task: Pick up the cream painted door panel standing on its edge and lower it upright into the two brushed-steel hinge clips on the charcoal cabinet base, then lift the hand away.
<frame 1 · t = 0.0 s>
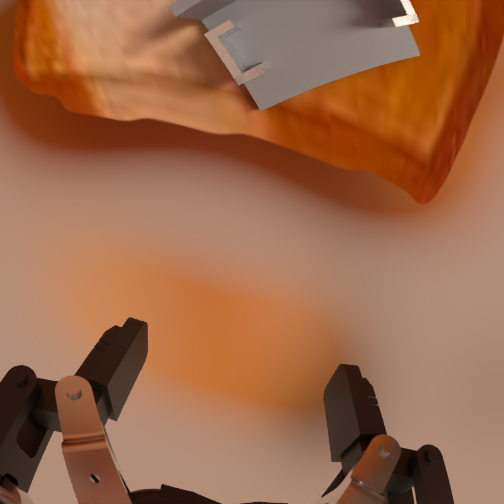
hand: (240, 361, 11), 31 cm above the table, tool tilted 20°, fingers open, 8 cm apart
hinge bracket: (310, 21, 24), on the table
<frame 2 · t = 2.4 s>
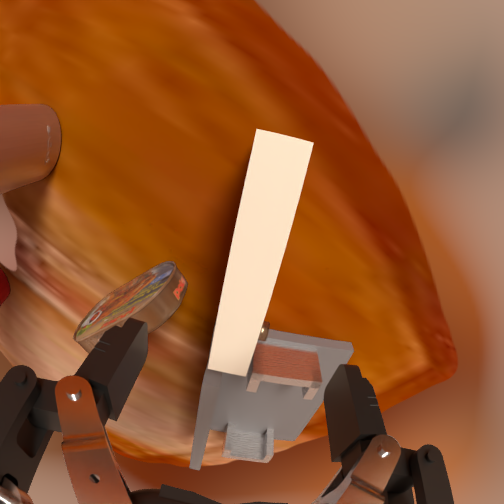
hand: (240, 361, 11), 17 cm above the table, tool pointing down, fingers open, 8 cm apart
door: (256, 227, 26), on the table
hinge bracket: (263, 391, 35), on the table
plastic cup: (0, 278, 31), on the table
tin: (141, 289, 30), on the table
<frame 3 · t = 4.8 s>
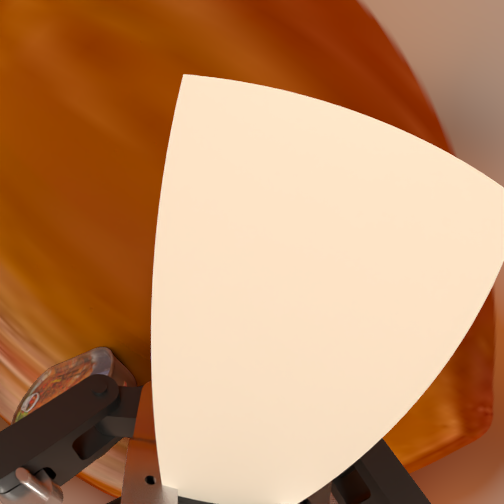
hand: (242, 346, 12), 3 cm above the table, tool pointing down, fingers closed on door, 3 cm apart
door: (248, 310, 14), on the table, touching gripper
tin: (85, 370, 18), on the table
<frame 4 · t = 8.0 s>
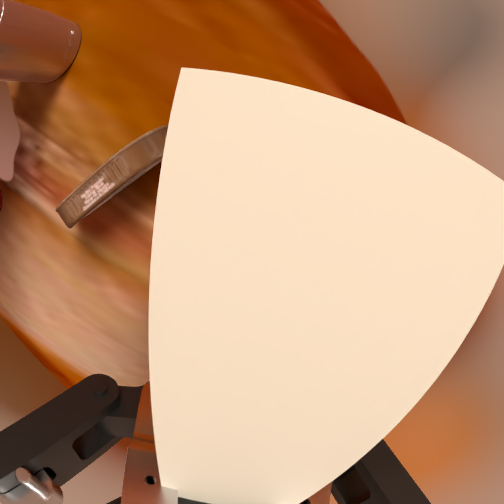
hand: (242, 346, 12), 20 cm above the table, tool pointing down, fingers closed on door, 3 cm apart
door: (248, 310, 14), point 17 cm above the table, touching gripper
tin: (132, 172, 29), on the table
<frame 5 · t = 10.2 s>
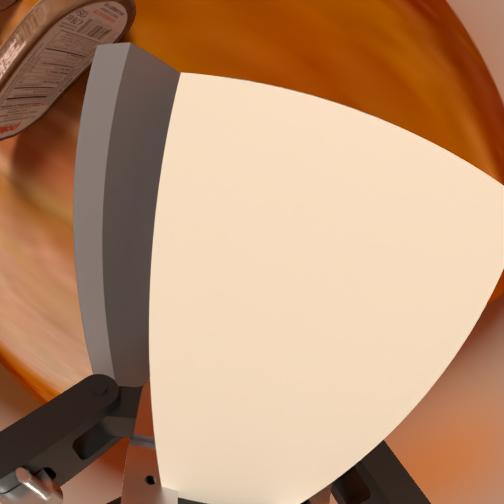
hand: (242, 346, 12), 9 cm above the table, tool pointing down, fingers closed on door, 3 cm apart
door: (248, 311, 14), point 6 cm above the table, touching gripper
hinge bracket: (254, 258, 20), on the table
tin: (76, 71, 15), on the table
when the fingers open (5 cm above the table, at t = 11.6 s): door stays where it is, resting on hinge bracket.
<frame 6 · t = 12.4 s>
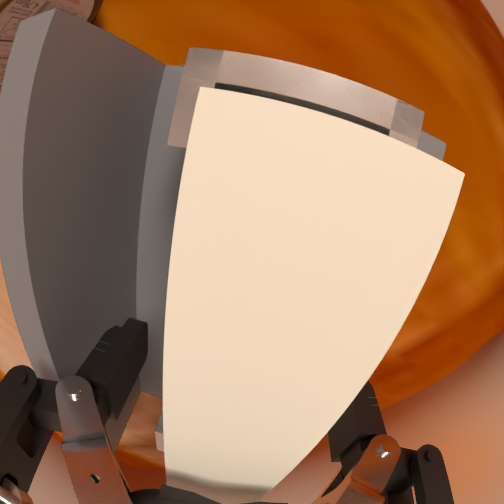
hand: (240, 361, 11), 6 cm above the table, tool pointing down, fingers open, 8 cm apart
door: (246, 299, 15), point 1 cm above the table, touching hinge bracket
hinge bracket: (248, 286, 16), on the table
tin: (43, 65, 11), on the table
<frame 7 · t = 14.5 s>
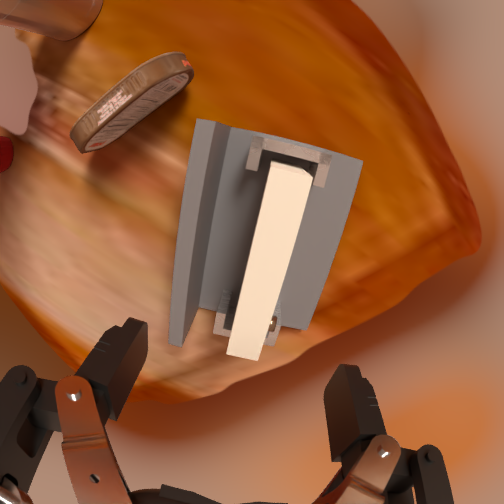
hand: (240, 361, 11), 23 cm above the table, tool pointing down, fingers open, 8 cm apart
door: (266, 237, 31), point 1 cm above the table, touching hinge bracket
hinge bracket: (267, 234, 32), on the table
plastic cup: (6, 152, 30), on the table
tin: (146, 108, 28), on the table
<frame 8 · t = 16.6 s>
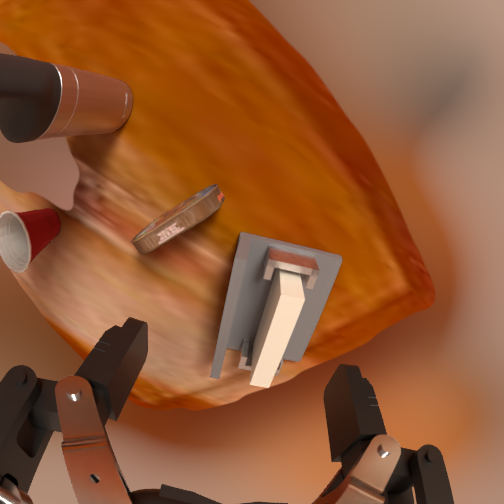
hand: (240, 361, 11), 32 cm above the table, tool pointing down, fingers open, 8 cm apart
door: (274, 307, 46), point 1 cm above the table, touching hinge bracket
hinge bracket: (274, 303, 47), on the table
plastic cup: (51, 220, 44), on the table
tin: (185, 212, 42), on the table
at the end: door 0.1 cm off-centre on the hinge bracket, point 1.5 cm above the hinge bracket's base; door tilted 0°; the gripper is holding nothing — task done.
